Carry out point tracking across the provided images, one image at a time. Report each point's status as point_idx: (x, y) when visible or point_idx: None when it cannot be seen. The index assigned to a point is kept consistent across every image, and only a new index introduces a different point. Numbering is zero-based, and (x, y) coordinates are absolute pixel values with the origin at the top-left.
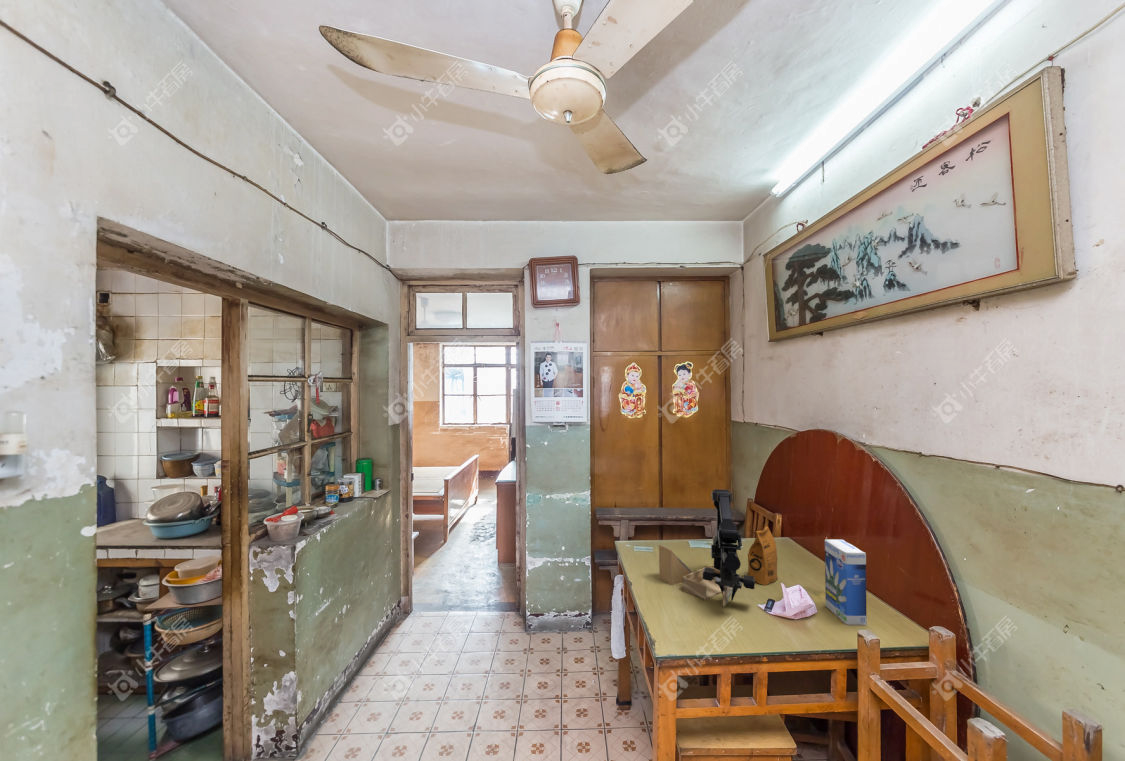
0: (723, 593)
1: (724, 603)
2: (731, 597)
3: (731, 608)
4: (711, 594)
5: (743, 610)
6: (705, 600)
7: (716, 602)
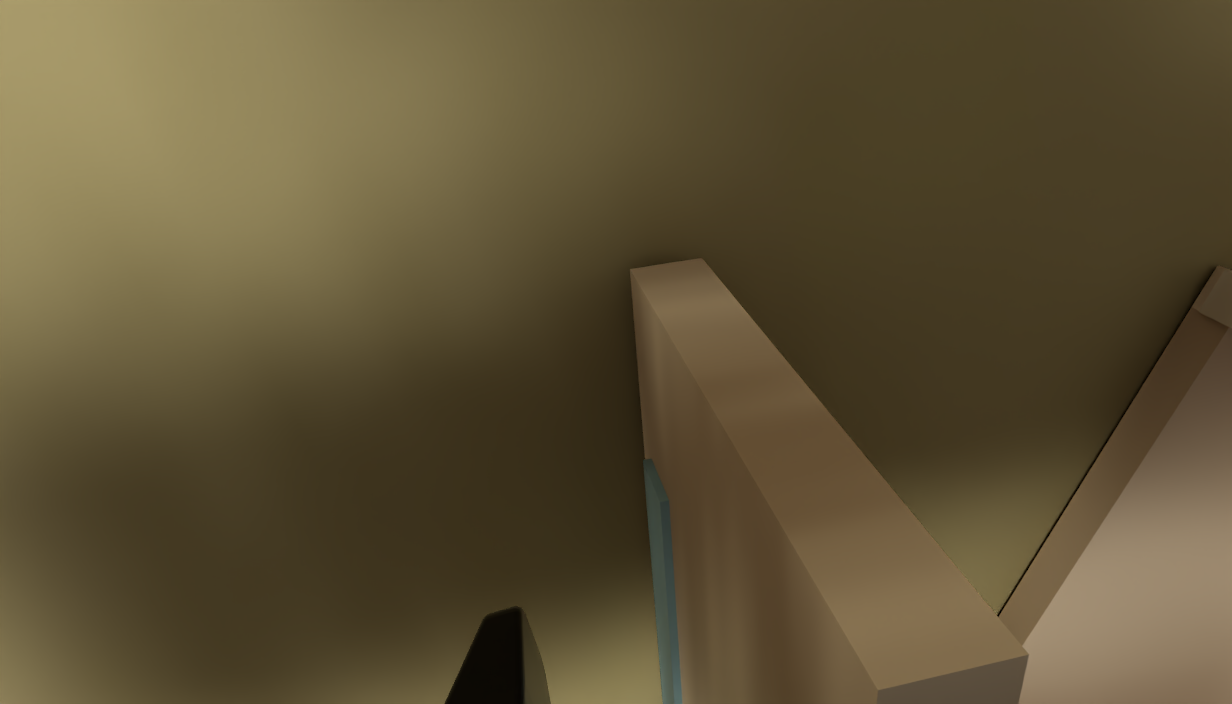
0: (907, 573)
1: (678, 306)
2: (514, 693)
3: (422, 317)
4: (1091, 603)
5: (36, 448)
6: (1216, 267)
7: (918, 367)
